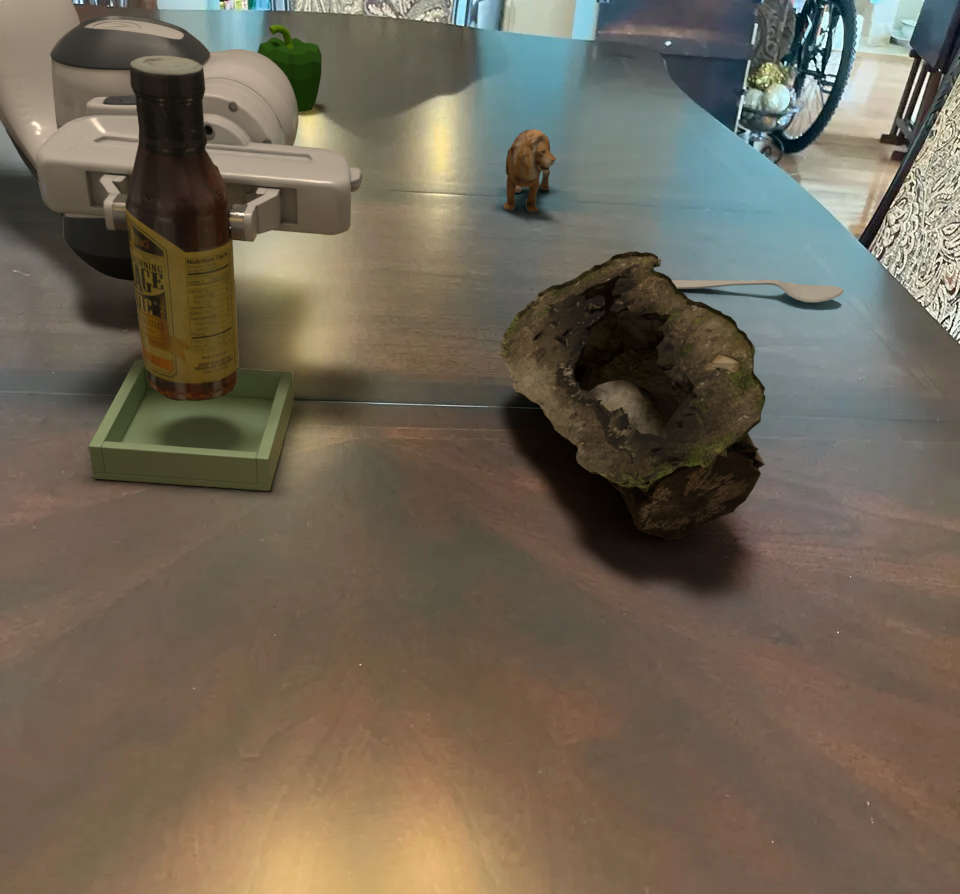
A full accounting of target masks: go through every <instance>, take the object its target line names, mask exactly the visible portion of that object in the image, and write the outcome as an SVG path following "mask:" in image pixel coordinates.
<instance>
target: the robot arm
mask: <svg viewBox="0 0 960 894" xmlns="http://www.w3.org/2000/svg"><path fill="white" fill-rule="evenodd" d="M257 52H258V51H253V50H249V49H241V48H233V49H225V50H219V51H218V50H217V51H209V48H207V47H206V46H205V44H204V43H202V42H201V41H200V40H199V39H198V38H196V37H195V36H194V35H193V34H192V33H190V32H189V31H188V30H186V29H185V28H183V27H181V26H178V25H175V24H173V23H170V22H167V21H163V20H159V19H154V18H150V17H146V16H145V17H144V16H137V15H127V14H126V15H125V14H115V15H113V14H112V15H103V16H97V17H94V18H89V19H87V20H85V21H82V22H81V20H80V17H79V14H78V12H77V9H76V7H75V5H74V3H73V1H72V0H0V122H1V124H2V126H3V127H4V130H5V132H6V134H7V136H8V138H9V139H10V140H11V141H10V142H11V143H12V145H13V146H14V148H15V150H16V152H17V154H18V155H19V157H20V158H21V161H22V162H23V163H24V165H25V166H26V168H27V169H28V170H29V172H30V173H31V175H32V176H33V178H34V179H35V180H36V182H37V183H38V186H39V191H40V195H41V198H42V201H43V203H44V205H45V206H46V207H47V208H48V209H49V210H51V211H52V212H55V213H58V214H60V215H61V217H62V225H63V241H64V243H65V245H66V246H67V247H68V248H69V249H70V251H72V252H73V253H74V254H75V255H76V256H77V257H78V258H79V259H80V260H81V261H82V262H84V263H85V264H86V265H88V266H89V267H90V268H91V269H93V270H95V271H96V272H97V273H100V274H102V275H103V276H106V277H109V278H113V279H116V280H120V281H126V282H127V281H128V282H134V278H133V270H132V262H131V252H130V243H129V235H128V228H127V217H126V209H125V203H126V199H127V195H128V190H129V185H130V181H131V176H132V171H133V167H134V162H135V157H136V153H137V148H138V144H139V124H138V114H137V109H136V95H135V93H134V92H133V89H132V87H131V80H130V63H131V62H132V61H134V60H135V59H138V58H141V57H145V56H174V57H180V58H187V59H191V60H194V61H196V62H198V63H199V64H200V65H201V66H202V67H203V71H204V79H205V93H204V97H203V101H202V103H203V116H204V133H205V135H206V137H207V144H206V146H205V150H206V151H207V153H208V155H209V157H210V158H211V160H212V162H213V163H214V165H216V166H217V167H218V169H219V172H220V174H221V176H222V178H223V180H224V182H225V185H226V188H227V191H228V197H229V204H228V206H229V213H228V224H229V225H230V230H229V237H230V238H231V239H232V240H233V241H238V242H252V243H254V242H255V240H256V238H257V236H258V235H261V234H264V233H268V232H270V231H276V232H277V231H278V232H288V233H300V234H311V235H324V236H337V235H340V234H343V233H346V232H347V231H349V229H350V228H351V219H352V216H351V215H352V193H354V192H357V191H358V190H359V189H360V187H361V185H362V182H363V174H362V170H361V169H360V168H359V167H354V166H350V164H349V161H348V159H347V158H346V156H345V155H343V154H342V153H340V152H338V151H336V150H333V149H327V148H322V147H321V148H320V147H311V146H300V145H295V141H296V138H297V134H298V127H299V112H298V106H297V101H296V97H295V94H294V91H293V88H292V86H291V84H290V81H289V80H288V78H287V76H286V75H285V74H284V72H283V71H282V70H281V69H280V68H279V67H278V66H277V65H276V64H275V63H274V62H273V61H271V60H270V59H269V58H267V57H265V56H264V55H262V54H259V53H257Z"/></svg>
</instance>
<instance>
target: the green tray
mask: <svg viewBox="0 0 960 894" xmlns="http://www.w3.org/2000/svg"><path fill="white" fill-rule="evenodd" d="M237 373H238V375H237V383H236V385H235V387H234V389H233V391H231V392H229V393H227V394H226V395H224V396H220V397H217V398H215V399H210V400H201V401H186V400H180V401H176V400H171V399H169V398H166V397H165V396H164V395H163V394H160V393H158V392H157V391H156V390H154V389H153V387H152V386H150V384H149V380H148V377H147V369H146V367H145V365H144V360H143V359H142V360H141V359H136V360H135V361H134V362H133V364H132V366H131V368H130V369H129V371H128V373H127V375H126V377H125V379H124V380H123V382H122V384H121V386H120V388H119V390H118V391H117V392H116V393H117V394H116V395H115V397H114V399H113V400H112V403H110V406H109V408H108V410H107V412H106V413H105V415H104V416H103V418H102V420H101V423H100V425H99V426H98V428H97V430H96V432H95V433H94V436H93V437H92V439H91V441H90V443H89V445H88V451H89V457H90V462H91V468H92V475H93V479H95V480H108V481H109V480H110V481H120V482H121V481H122V482H123V481H124V482H137V483H139V482H140V483H149V484H151V483H152V484H164V485H165V484H166V485H178V486H179V485H180V486H193V487H194V486H195V487H209V488H223V489H237V490H239V489H240V490H249V491H250V490H252V491H265V492H270V491H271V488H272V485H273V480H274V476H275V473H276V469H277V465H278V463H279V458H280V454H281V452H282V451H281V450H282V448H283V444H284V440H285V436H286V432H287V429H288V425H289V421H290V417H291V414H292V410H293V407H294V403H295V397H294V396H295V393H294V372H293V371H283V370H269V369H259V368H258V369H257V368H246V367H245V368H244V367H237Z"/></svg>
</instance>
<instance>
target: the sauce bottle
mask: <svg viewBox="0 0 960 894" xmlns="http://www.w3.org/2000/svg"><path fill="white" fill-rule="evenodd" d="M130 80H131V87H132V89H133V92H134V93H135V95H136V109H137V114H138V124H139V144H138V148H137V153H136V157H135V162H134V167H133V171H132V176H131V181H130V185H129V190H128V195H127V199H126V203H125V209H126V217H127V228H128V235H129V243H130V252H131V262H132V270H133V278H134V281H133V284H134V295H135V297H134V298H135V303H136V310H137V318H138V328H139V335H140V342H141V351H142V358H143V359H142V361H144V365H145V367H146V369H147V377H148V380H149V384H150V386H152V387H153V389H154V390H156V391H157V392H158V393H160V394H163V395H164V396H165V397H166V398H169V399H171V400H176V401H180V400H186V401H201V400H210V399H215V398H217V397H220V396H224V395H226V394H227V393H229V392H231V391H233V389H234V387H235V385H236V383H237V375H238V373H237V368H239V364H240V358H239V357H240V356H239V355H240V354H239V339H238V338H239V337H238V336H239V335H238V318H237V317H238V315H237V300H236V299H237V298H236V281H235V263H234V261H235V260H234V245H233V244H234V240H232V239H231V238H230V237H229V230H230V228H231V227H230V225H229V224H228V213H229V206H228V204H229V197H228V191H227V188H226V185H225V182H224V180H223V178H222V176H221V174H220V172H219V169H218V167H217V166H216V165H214V163H213V162H212V160H211V158H210V157H209V155H208V153H207V151H206V150H205V146H206V144H207V137H206V135H205V133H204V116H203V103H202V101H203V97H204V93H205V79H204V71H203V67H202V66H201V65H200V64H199V63H198V62H196V61H194V60H191V59H187V58H180V57H174V56H145V57H141V58H138V59H135V60H134V61H132V62H131V63H130Z"/></svg>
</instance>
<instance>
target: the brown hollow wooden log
mask: <svg viewBox="0 0 960 894" xmlns="http://www.w3.org/2000/svg"><path fill="white" fill-rule="evenodd" d="M661 263H662V259H661V258H660V257H659V256H657V254H654V253H652V252H648V251H645V252H639V251H637V250H636V251H627V252H624V253H617V254H614V255H612V256H611V257H610V259H607V261H604V262H602V263H600V264H595V265H593V266H592V267H590V268H589V269H588V270H585V271H582V273H579V275H577V276H576V277H575V278H573V279H569V280H567V281H565V282H563V283H561V284H554V285H551V286H549V287H547V288H546V289H543V290H541V291H540V292H539V293H537V295H536V299H535V300H531V301H530V302H529V303H528V304H527V305H526V306H525V307H524V309H522V310H520V311H519V312H517V313H516V314H515V316H514V317H513V319H512V320H511V323H510V325H509V327H508V328H506V330H505V332H504V333H503V336H502V339H501V343H500V349H501V352H500V355H501V357H502V361H503V363H504V364H505V366H506V368H507V369H508V373H509V378H510V379H511V381H512V382H513V383H512V388H513V390H514V392H515V395H519V394H520V395H521V394H522V395H523V396H525V398H527V399H528V400H529V401H530V402H531V403H534V404H537V405H539V407H540V408H541V409H542V412H543V414H544V416H545V418H547V419H548V420H549V421H550V423H551V424H552V426H553V429H554V431H555V432H556V433H558V435H560V436H561V437H562V438H564V439H565V440H566V441H569V442H570V443H571V444H572V445H574V446H576V447H577V449H578V450H577V452H576V453H575V454H576V455H575V458H576V462H577V464H579V466H580V467H582V468H583V469H585V470H586V471H588V472H589V473H591V474H592V475H600V476H601V477H603V478H605V479H606V480H608V483H609V484H610V485H611V486H612V487H613V488H615V489H616V490H617V491H618V492H619V493H620V494H621V496H622V499H623V500H624V503H625V505H626V507H627V509H628V511H629V513H630V515H631V518H632V521H633V524H634V527H636V530H638V531H641V532H642V533H646V534H649V535H653V536H656V537H662V538H663V540H664V541H672V540H677V539H680V538H682V537H684V536H687V535H688V534H690V533H692V532H694V531H696V530H698V529H700V528H702V527H704V526H706V525H708V524H709V523H711V522H713V521H716V520H717V519H719V518H721V517H723V516H726V515H729V514H732V513H734V512H735V510H736V509H737V508H739V507H740V506H741V505H742V504H743V503H744V502H746V501H747V499H748V497H749V496H750V495H751V494H752V491H753V490H754V488H755V486H756V484H757V482H758V481H759V479H760V478H761V475H762V472H761V470H760V468H762V467H764V466H765V465H766V464H765V462H764V460H763V458H762V457H761V455H760V453H759V451H758V450H759V448H758V447H756V445H755V443H754V442H753V439H752V438H751V436H750V434H749V432H750V431H751V430H753V428H755V427H756V426H758V425H759V424H760V423H761V421H762V412H763V409H764V406H765V403H766V395H765V390H766V387H765V386H764V384H763V383H762V381H761V380H760V378H759V377H758V376H757V375H756V374H755V372H754V368H755V353H756V348H755V347H756V346H755V345H754V343H753V342H752V341H751V340H750V338H749V337H748V335H747V333H746V332H745V331H743V330H741V329H740V328H739V327H738V324H737V322H736V320H735V319H733V317H731V316H730V315H727V314H725V313H723V312H722V311H721V310H719V309H716V308H714V307H712V306H710V305H708V304H706V303H704V302H703V301H696V300H693V299H690V298H689V296H687V295H686V294H685V292H683V291H682V289H677V288H676V286H675V284H674V283H673V282H672V280H673V279H672V278H671V277H670V276H669V275H667V274H665V273H662V272H660V271H656V270H655V268H659V267H661Z"/></svg>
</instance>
